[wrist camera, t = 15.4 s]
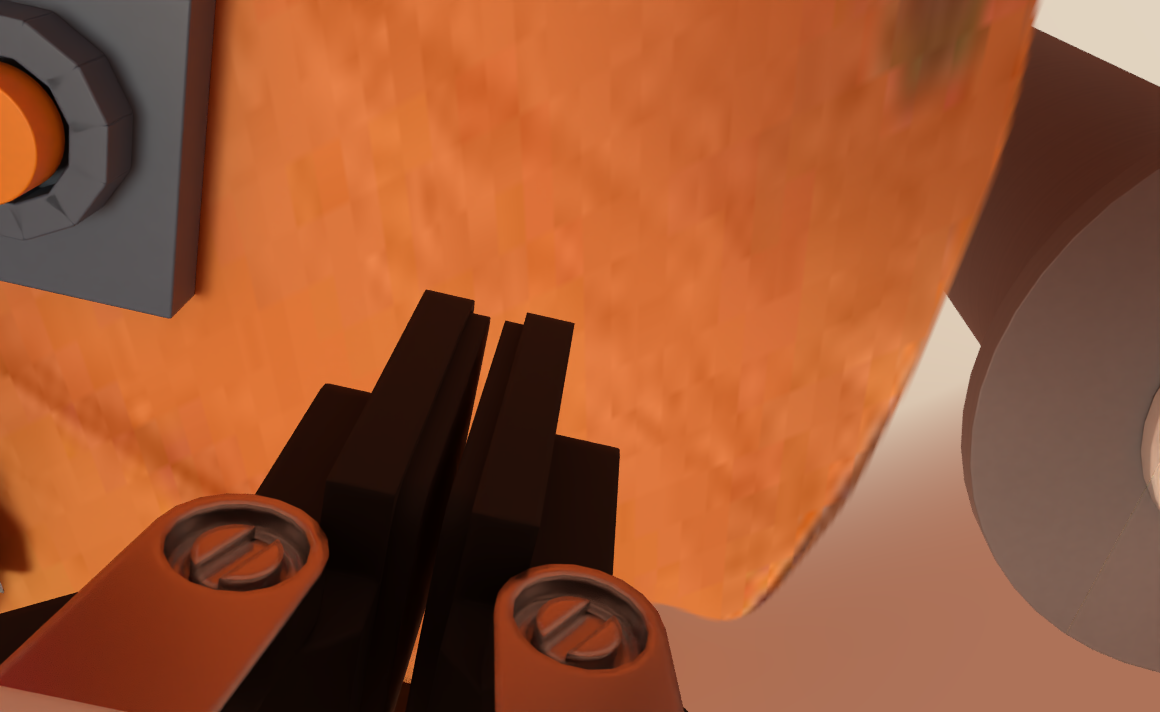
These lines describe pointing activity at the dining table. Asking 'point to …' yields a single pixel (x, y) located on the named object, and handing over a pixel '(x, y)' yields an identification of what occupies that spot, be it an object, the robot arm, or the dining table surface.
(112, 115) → the push button box
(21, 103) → the button
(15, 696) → the robot arm
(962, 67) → the dining table surface
